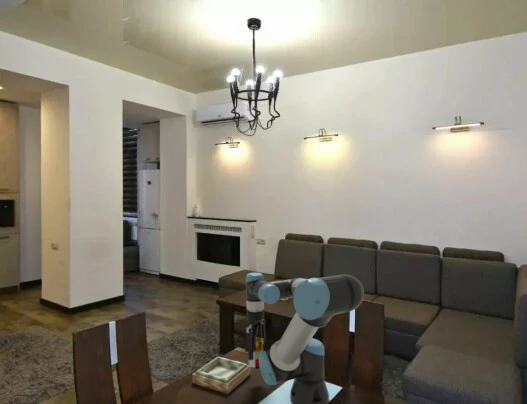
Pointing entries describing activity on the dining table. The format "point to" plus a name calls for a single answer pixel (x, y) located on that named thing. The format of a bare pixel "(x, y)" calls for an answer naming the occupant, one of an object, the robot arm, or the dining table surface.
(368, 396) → the dining table surface
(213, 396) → the dining table surface
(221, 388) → the square wooden tray
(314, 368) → the robot arm
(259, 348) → the toy
